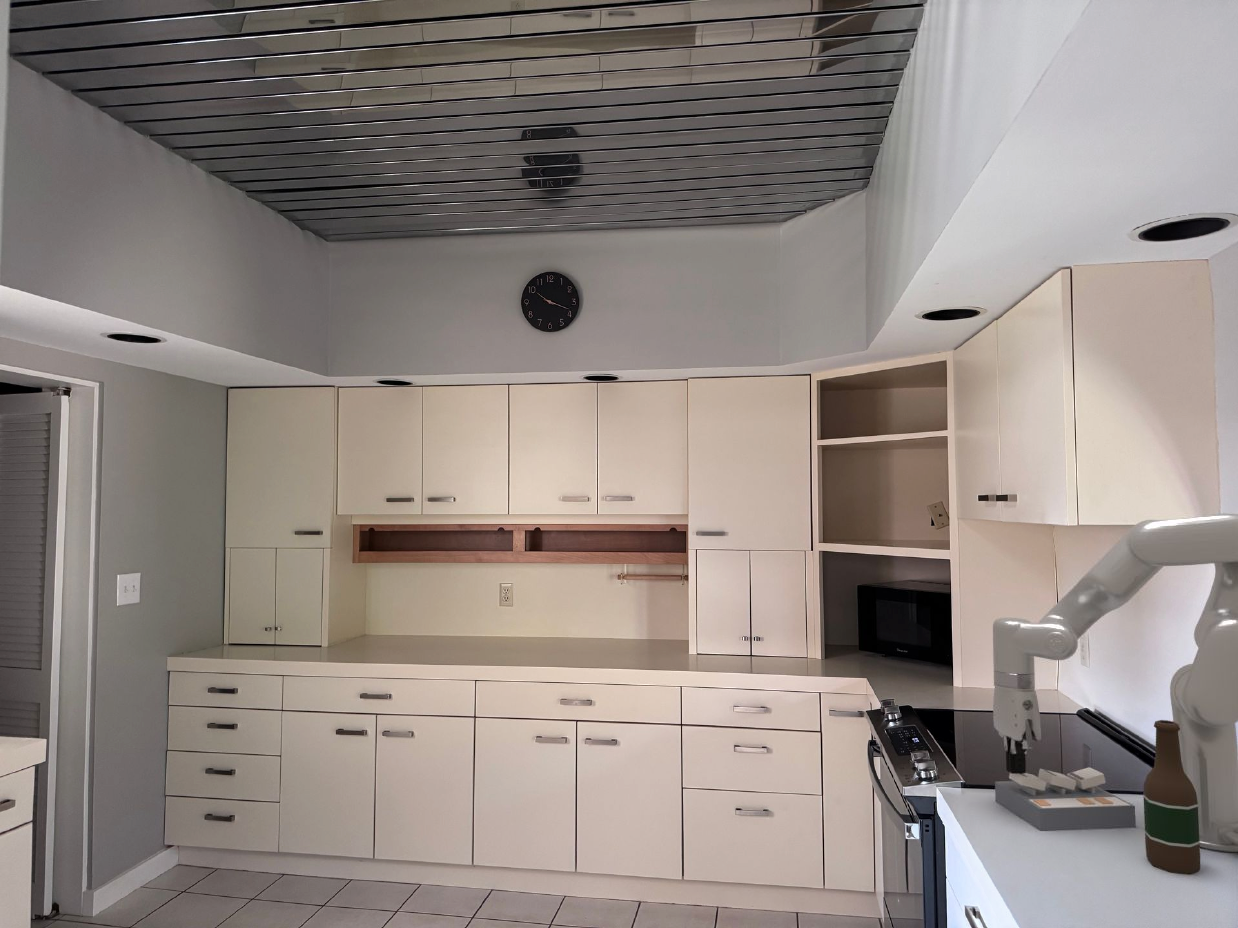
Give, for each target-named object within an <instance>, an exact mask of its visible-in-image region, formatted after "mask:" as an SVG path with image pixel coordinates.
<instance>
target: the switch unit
mask: <svg viewBox="0 0 1238 928" xmlns="http://www.w3.org/2000/svg"><path fill="white" fill-rule="evenodd" d="M994 789H995V792H994V794H995V797H994V798H995V802H996V803H998V804H999V805H1001V806H1002V807H1003V808H1005V809H1007V810H1008V811H1009V812H1011V813H1013V814H1014V815H1016V816H1018V817H1019V818H1020V819H1023V821H1025V822H1027V823H1028V824H1030V825H1031V826H1032V827H1034V828H1036V829H1037V830H1039V831H1066V830H1067V831H1068V830H1092V829H1093V830H1094V829H1095V830H1096V829H1097V830H1098V829H1099V830H1100V829H1127V828H1129V829H1130V828H1137V821H1136V805H1134V804H1132V803H1130V802H1128V801H1127V800H1124V799H1122V798H1120V797H1118V796H1117V795H1115V794H1113V793H1110V792H1108V791H1106V790H1105V789H1102V788H1101V787H1099V786H1093V787H1090V788H1087V789H1081V788H1079V787H1077V786H1075V789H1074V790H1072V789H1068V788H1064V787H1060V786H1056V785H1052V784H1050V783H1048V782H1046V786H1045V791H1043V790H1039V789H1035V788H1031V787H1027V786H1023V785H1020V784H1018V783H1017V782H1015V781H1013V780H1007V781H1006V780H1005V781H1004V780H1003V781H1001V780H999V781H994Z"/></svg>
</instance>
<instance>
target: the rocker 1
mask: <svg viewBox="0 0 1238 928" xmlns="http://www.w3.org/2000/svg"><path fill="white" fill-rule="evenodd" d="M1008 778H1009V779H1010V780H1011V781H1015V782H1017V783H1018V784H1020V785H1023V786H1027V787H1031V788H1035V789H1039V790H1043V791H1045V786H1046V781H1044V780H1042V779H1041V778H1039V777H1038V776H1036V775H1035V774H1030V773H1028V772H1026V773H1024V774H1012V773H1010V772H1009V775H1008Z"/></svg>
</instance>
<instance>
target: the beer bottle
mask: <svg viewBox="0 0 1238 928" xmlns="http://www.w3.org/2000/svg"><path fill="white" fill-rule="evenodd" d="M1153 727H1154V728H1155V753H1154V754H1155V757H1154V763H1153V764H1154V765H1153V767H1152V768H1151V770H1150V771H1149V772H1148V774H1147V775H1146V777H1145V780H1144V782H1143V817H1144V819H1143V821H1144V838H1145V839H1144V841H1145V842H1144V843H1145V853H1146V858H1147V860H1148V862H1149V863H1150V864H1151V865H1152V866H1153V867H1155V868H1158V869H1161V870H1163V871H1167V872H1168V873H1174V874H1183V875H1184V874H1185V875H1191V874H1194V873H1197V872H1200V870H1201V847H1200V840H1199V818H1198V802H1197V794H1196V791H1195V789H1194V786H1193V784H1192V782H1191V781H1190V780H1189V778H1188V777H1187V775H1186V774H1185V773H1184V770H1183V766H1182V761H1181V752H1180V744H1179V735H1178V731H1179V730H1180V727H1179V725H1178V724H1177V723H1175V722H1173V720H1167V719H1159V720H1156V721H1155V722H1154V723H1153Z"/></svg>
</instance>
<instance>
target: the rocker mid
mask: <svg viewBox="0 0 1238 928" xmlns="http://www.w3.org/2000/svg"><path fill="white" fill-rule="evenodd" d="M1037 777H1038V778H1040V779H1042V780H1044V781H1046V782H1048V783H1050V784H1052V785H1056V786H1060V787H1064V788H1068V789H1072V790H1074V789H1075V785H1076V781H1075V780H1073V779H1071V778H1069V777H1068V776H1067V775H1065V774H1063V773H1060V772H1056V771H1053V770H1048V769H1045V768H1039V771H1038V775H1037Z"/></svg>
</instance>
